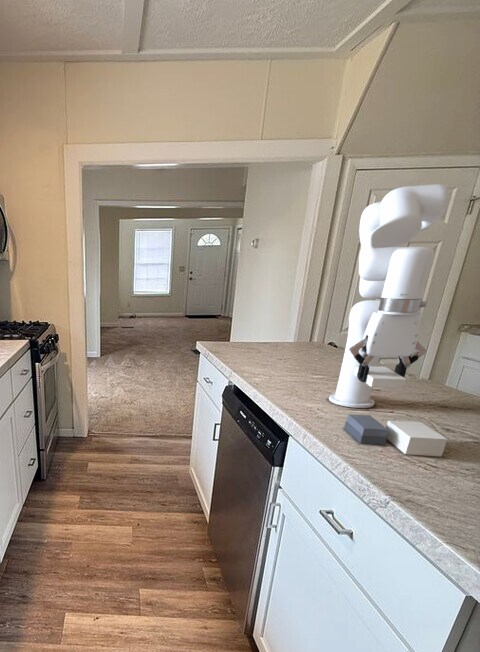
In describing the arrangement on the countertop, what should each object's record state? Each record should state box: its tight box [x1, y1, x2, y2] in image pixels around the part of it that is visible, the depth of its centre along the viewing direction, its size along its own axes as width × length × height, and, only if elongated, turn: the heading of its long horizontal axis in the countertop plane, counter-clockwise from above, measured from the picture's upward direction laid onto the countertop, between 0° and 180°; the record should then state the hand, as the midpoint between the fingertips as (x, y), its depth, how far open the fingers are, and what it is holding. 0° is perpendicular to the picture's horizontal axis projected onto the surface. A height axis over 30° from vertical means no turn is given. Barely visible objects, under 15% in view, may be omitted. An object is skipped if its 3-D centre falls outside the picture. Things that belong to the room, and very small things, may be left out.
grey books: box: [343, 414, 388, 446], centre depth 103 cm, size 11×6×4 cm, turn 169°
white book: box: [354, 366, 407, 389], centre depth 99 cm, size 11×7×2 cm, turn 169°
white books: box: [385, 420, 448, 457], centre depth 97 cm, size 11×8×4 cm
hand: (379, 380), depth 99 cm, fingers closed on white book, 7 cm apart
